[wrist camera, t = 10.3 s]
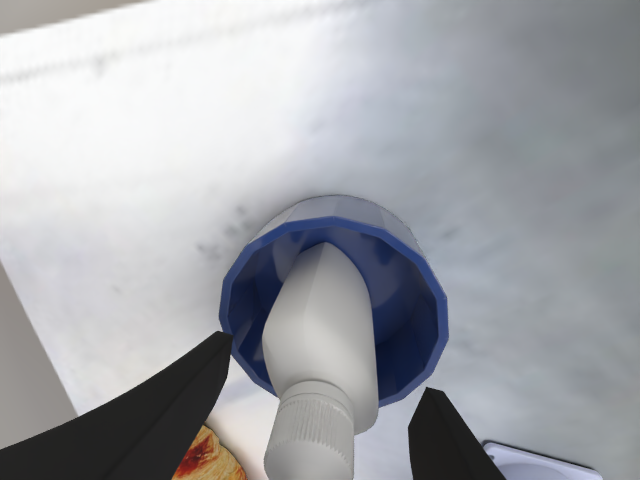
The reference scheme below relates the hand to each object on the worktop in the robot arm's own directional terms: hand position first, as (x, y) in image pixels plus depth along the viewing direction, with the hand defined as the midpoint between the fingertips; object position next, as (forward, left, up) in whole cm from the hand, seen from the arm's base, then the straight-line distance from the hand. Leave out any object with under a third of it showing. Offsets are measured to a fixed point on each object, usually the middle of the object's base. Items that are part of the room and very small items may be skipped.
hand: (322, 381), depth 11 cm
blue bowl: (0, 0, -8) cm, 8 cm away
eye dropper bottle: (0, 0, -8) cm, 8 cm away
